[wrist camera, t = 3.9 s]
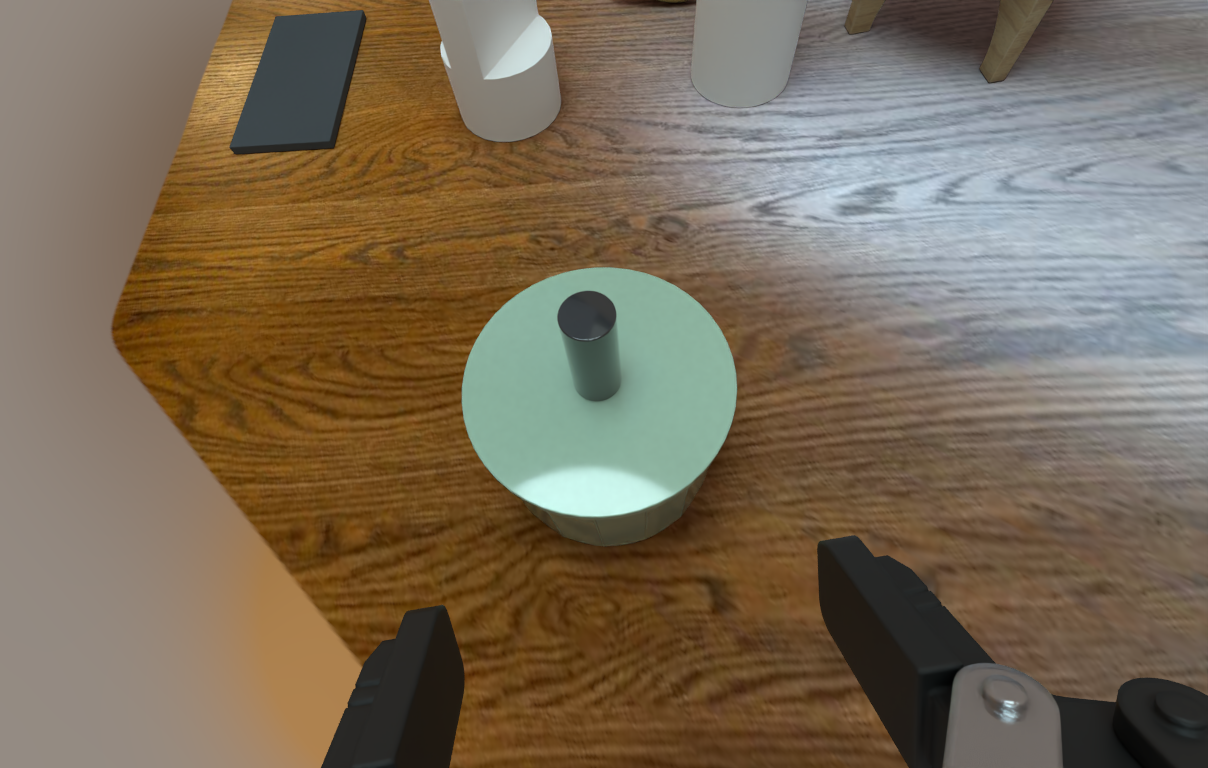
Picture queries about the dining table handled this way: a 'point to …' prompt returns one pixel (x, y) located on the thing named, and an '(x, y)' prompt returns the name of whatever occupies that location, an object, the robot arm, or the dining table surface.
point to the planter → (1014, 27)
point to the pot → (621, 521)
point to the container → (744, 49)
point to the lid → (599, 393)
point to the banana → (673, 1)
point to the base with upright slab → (499, 66)
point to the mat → (300, 83)
